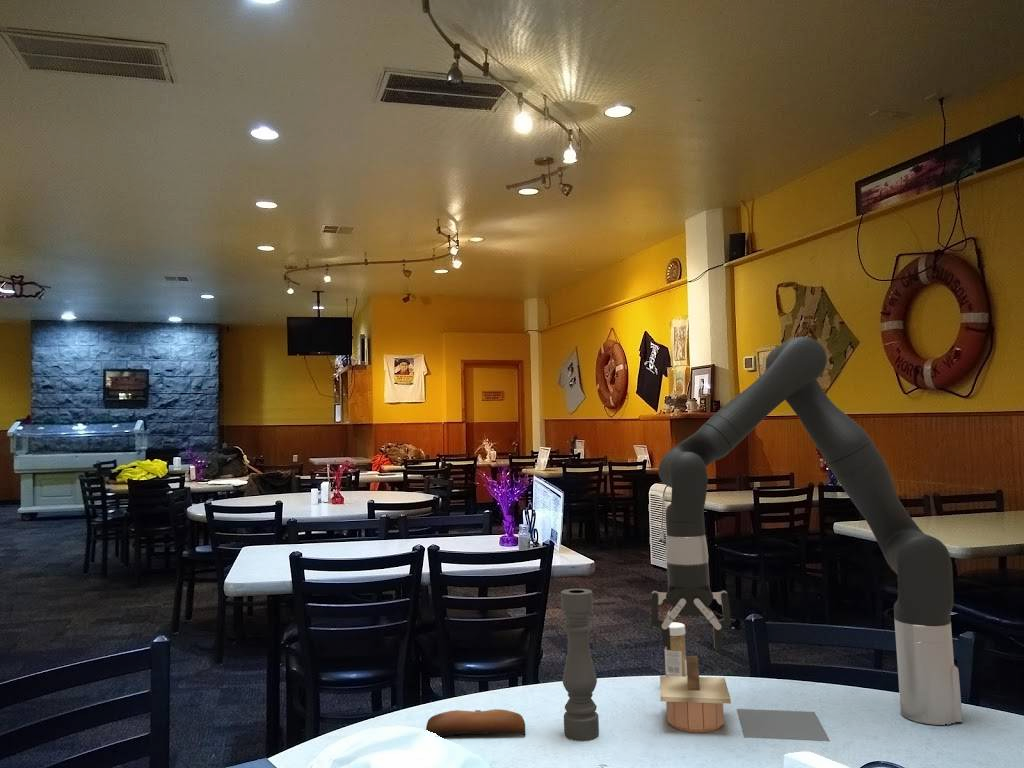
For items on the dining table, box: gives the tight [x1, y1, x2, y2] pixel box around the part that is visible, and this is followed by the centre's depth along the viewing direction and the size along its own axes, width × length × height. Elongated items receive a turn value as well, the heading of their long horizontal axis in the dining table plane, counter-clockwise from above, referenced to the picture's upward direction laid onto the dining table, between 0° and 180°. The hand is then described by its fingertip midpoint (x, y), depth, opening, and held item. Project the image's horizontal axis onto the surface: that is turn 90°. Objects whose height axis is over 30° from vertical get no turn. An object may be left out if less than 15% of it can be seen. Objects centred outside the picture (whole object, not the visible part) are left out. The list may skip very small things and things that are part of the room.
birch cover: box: [659, 655, 732, 705], centre depth 138 cm, size 12×12×6 cm
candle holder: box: [560, 588, 600, 742], centre depth 136 cm, size 6×6×25 cm
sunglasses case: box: [425, 708, 527, 737], centre depth 138 cm, size 18×7×7 cm, turn 88°
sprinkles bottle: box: [663, 621, 687, 677], centre depth 157 cm, size 5×5×13 cm
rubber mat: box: [736, 708, 831, 742], centre depth 136 cm, size 14×14×1 cm
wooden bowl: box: [665, 701, 725, 733], centre depth 138 cm, size 10×10×6 cm
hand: (692, 649), depth 139 cm, fingers open, 8 cm apart
